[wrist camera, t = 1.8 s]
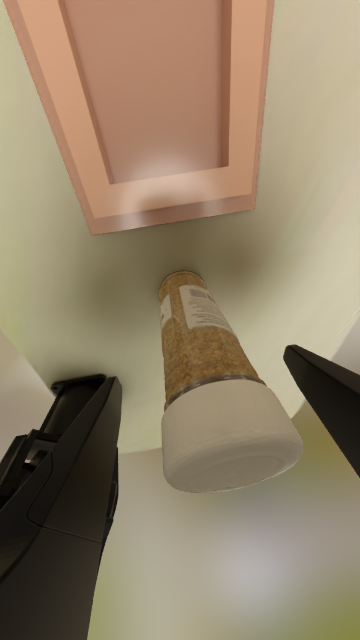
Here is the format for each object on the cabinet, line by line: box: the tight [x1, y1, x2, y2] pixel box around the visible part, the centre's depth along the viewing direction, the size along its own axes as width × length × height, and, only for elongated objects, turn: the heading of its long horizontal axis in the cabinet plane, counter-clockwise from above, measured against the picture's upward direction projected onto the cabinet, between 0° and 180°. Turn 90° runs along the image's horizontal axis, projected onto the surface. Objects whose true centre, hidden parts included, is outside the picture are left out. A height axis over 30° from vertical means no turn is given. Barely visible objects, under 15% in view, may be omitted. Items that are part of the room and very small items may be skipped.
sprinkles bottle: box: [159, 271, 303, 493], centre depth 11 cm, size 5×5×13 cm
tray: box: [3, 0, 274, 235], centre depth 9 cm, size 12×12×2 cm
